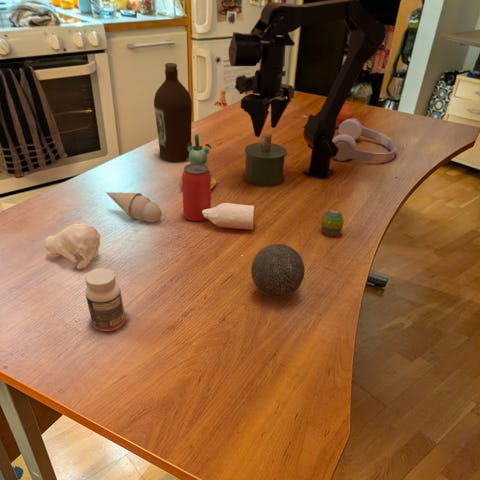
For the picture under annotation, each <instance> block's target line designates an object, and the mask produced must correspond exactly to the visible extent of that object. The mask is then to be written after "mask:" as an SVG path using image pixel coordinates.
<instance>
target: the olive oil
mask: <svg viewBox="0 0 480 480" xmlns="http://www.w3.org/2000/svg"><path fill="white" fill-rule="evenodd" d="M164 68H165V69H164V75H165V79H164V81H163V83H161V85H160V86H159V87H158V89H157V90H156V92H155V94H154V98H153V108H154V114H155V115H154V116H155V122H156V132H157V137H158V138H157V139H158V148H159V156H160V158H161V159H162V160H164V161H166V162H171V163H180V162H186V160H187V159H188V158H189V153H190V152H188V147H189V146H192V145H189V146H188V147H187V144H188V143H192V119H193V118H192V116H193V101H192V96H191V94H190V92H189V91H188V89H186V87H185V86H184V85H183V83H181V81H180V79H179V72H178V64H177V63H174V62H168V63H165V64H164ZM188 160H189V159H188Z"/></svg>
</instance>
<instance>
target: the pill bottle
mask: <svg viewBox="0 0 480 480" xmlns="http://www.w3.org/2000/svg"><path fill="white" fill-rule="evenodd" d="M84 280H85V285H86V287H85V292H84V293H85V299H86V302H87V306H88V311H89V315H90V316H89V317H90V320H91V323H92V325H93V327H94V328H95V329H96V330H98V331H101V332H102V331H103V332H111V331H114V330H117V329H120V327H122V326H123V324H124V323H125V321H126V313H125V307H124V302H123V296H122V290H121V287H120V284H119V282H117V281H116V275H115V272H114V271H113V270H112V269H110V268H106V267H98V268H93V269H92V270H90V271H88V272H87V273H86V274H85V277H84Z"/></svg>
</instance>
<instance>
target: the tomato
mask: <svg viewBox="0 0 480 480" xmlns="http://www.w3.org/2000/svg"><path fill="white" fill-rule="evenodd" d="M351 118H354V108H353V106H352V105H351V104H349V103H348V102H345V103H344V105H343V107H342V109H341V111H340V113H339V115H338V117H337V119H336V128H337V129H339V126H340V124H341V123H342V122H344V121H345V120H347V119H351Z"/></svg>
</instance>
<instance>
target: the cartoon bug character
mask: <svg viewBox="0 0 480 480" xmlns="http://www.w3.org/2000/svg"><path fill="white" fill-rule="evenodd" d="M194 143H195V145H193V142H191V143H188V144H187V147H188V146H189V145H191V146H189V147H188V152H190V153H189V158H188V159H187V160H185V163H188V161H189V164H194V163H198V164H203V165H206V166H207V167H208V171H209V173H210V172H211V170H210V169H209V164H208V154H209V153H210V150H211V149H212V146H211V145H210V144H209V143H205V148H203V145H200V139H199V134H198V133H195V134H194ZM210 174H211V173H210ZM210 176H211V189H213V188H214V187H215V186H216V183H217V179H216V177H214V176H213V175H210ZM180 185H181V186H182V182H180Z"/></svg>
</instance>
